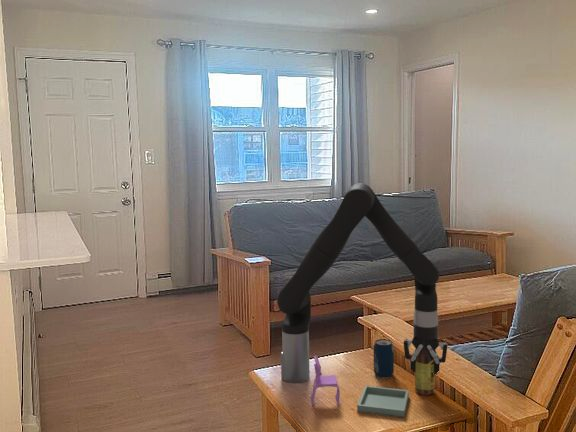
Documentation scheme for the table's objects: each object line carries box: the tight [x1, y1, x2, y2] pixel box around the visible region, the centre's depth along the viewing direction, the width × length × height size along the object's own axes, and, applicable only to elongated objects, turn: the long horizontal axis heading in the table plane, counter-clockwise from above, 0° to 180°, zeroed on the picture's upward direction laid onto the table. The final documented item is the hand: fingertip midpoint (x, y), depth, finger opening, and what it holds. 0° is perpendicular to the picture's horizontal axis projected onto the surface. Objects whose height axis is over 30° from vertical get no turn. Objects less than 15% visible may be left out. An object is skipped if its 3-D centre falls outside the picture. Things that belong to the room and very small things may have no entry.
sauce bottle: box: [414, 340, 436, 396], centre depth 176 cm, size 6×6×20 cm
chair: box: [310, 355, 341, 408], centre depth 171 cm, size 8×9×15 cm
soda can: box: [373, 338, 395, 379], centre depth 190 cm, size 7×7×12 cm
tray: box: [356, 385, 410, 419], centre depth 169 cm, size 14×14×2 cm
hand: (425, 372), depth 176 cm, fingers closed on sauce bottle, 6 cm apart
